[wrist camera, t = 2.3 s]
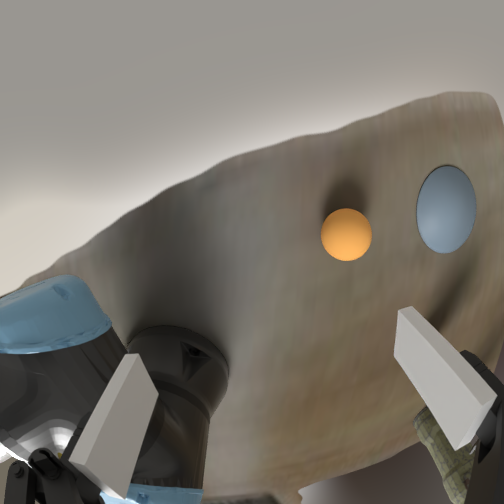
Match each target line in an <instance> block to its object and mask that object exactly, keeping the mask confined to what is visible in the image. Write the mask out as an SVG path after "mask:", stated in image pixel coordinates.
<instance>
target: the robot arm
mask: <svg viewBox="0 0 504 504" xmlns="http://www.w3.org/2000/svg"><path fill="white" fill-rule="evenodd" d="M111 325H112V322H111V320H110V318H109V317H108V316H107V315H106V314H105V313H103V311H102V309H101V308H100V306H99V304H98V303H97V301H96V299H95V298H94V296H93V294H92V292H91V291H90V289H89V287H88V286H87V284H86V283H85V282H84V281H83V280H81V279H80V278H78V277H76V276H73V275H60V276H56V277H52V278H49V279H46V280H43V281H41V282H38V283H35V284H32V285H30V286H27V287H25V288H23V289H20V290H18V291H16V292H13V293H11V294H9V295H7V296H5V297H3V298H1V299H0V463H1V462H3V461H5V460H7V459H9V458H10V457H12V456H13V457H15V458H17V459H19V460H18V461H15V462H13V463H12V464H11V466H10V468H9V470H8V476H7V483H6V490H5V499H4V504H35V500H36V501H37V502H39V503H40V504H200V502H201V498H202V494H203V491H204V490H203V489H202V486H203V477H204V468H205V459H206V450H207V442H208V433H209V424H210V418H211V417H212V415H213V414H214V412H215V411H216V409H217V407H218V406H219V404H220V402H221V401H222V399H223V397H224V396H225V393H226V391H227V386H228V375H229V373H228V367H227V363H226V361H225V359H224V357H223V355H222V354H221V353H220V351H219V350H218V349H217V348H216V347H215V346H214V345H213V344H212V343H211V342H209V341H208V340H207V339H205V338H204V337H202V336H200V335H198V334H196V333H194V332H192V331H189V330H186V329H183V328H179V327H173V326H156V327H151V328H148V329H145V330H143V331H141V332H140V333H138V334H137V335H136V336H135V337H134V338H133V339H132V340H131V342H130V344H129V345H128V347H127V349H125V347H124V345H123V344H122V342H121V341H120V339H119V337H118V336H117V334H116V332H115V331H114V329H113V327H112V326H111ZM394 357H395V358H396V360H397V361H398V363H399V364H400V366H401V367H402V368H403V370H404V371H405V373H406V374H407V376H408V377H409V379H410V380H411V382H412V383H413V385H414V386H415V388H416V389H417V391H418V392H419V394H420V395H421V397H422V398H423V400H424V402H425V403H426V405H427V406H428V408H429V409H430V411H431V413H432V414H433V416H434V417H435V419H436V420H437V422H438V424H439V425H440V427H441V429H442V430H443V432H444V434H445V435H446V437H447V439H448V440H449V442H450V444H451V445H452V447H453V449H454V450H455V451H456V450H458V449H459V448H461V447H463V446H464V445H466V444H468V443H469V442H470V441H471V440H472V438H473V437H474V435H475V434H477V436H478V437H479V439H478V440H477V442H476V443H475V444H474V446H473V447H472V449H471V450H470V453H469V454H472V453H473V451H474V450H475V449H476V450H475V456H474V462H473V467H472V472H471V477H470V482H469V486H468V490H467V494H466V498H465V501H464V504H504V385H503V384H502V383H501V382H500V380H499V379H498V378H497V377H496V376H495V375H494V374H493V373H492V372H491V371H490V370H489V369H487V367H486V366H485V364H484V363H483V364H482V361H481V360H480V359H479V358H478V357H477V356H476V355H475V354H472V353H470V352H468V351H466V350H464V351H462V352H460V353H459V352H458V351H457V350H456V349H455V348H454V347H453V346H452V345H451V344H450V343H449V342H448V341H447V340H446V339H445V338H444V337H443V336H442V335H441V334H440V333H439V332H438V331H437V330H436V329H435V328H434V327H433V326H432V325H431V324H430V323H429V322H428V321H427V320H426V319H425V318H424V317H423V316H422V315H421V314H420V313H419V312H417V311H416V310H415V309H414V308H413V307H412V306H410V307H407V308H403V309H400V310H398V320H397V331H396V340H395V348H394ZM56 453H62V456H61V458H60V459H58V458H57V457H56V456H55V455H54V454H56ZM27 463H28V464H29V465H30V466H31V467H32V468H31V467H30V466H29V465H28V464H27Z"/></svg>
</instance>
